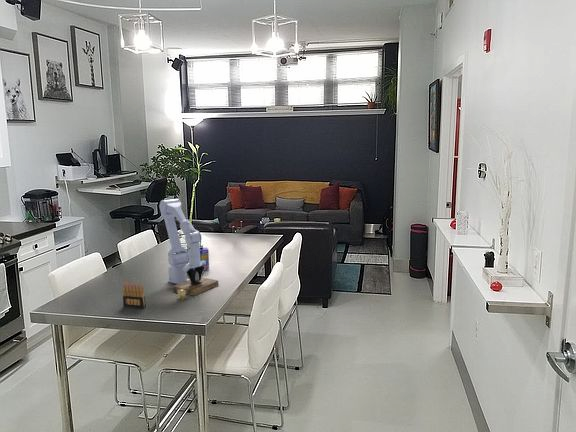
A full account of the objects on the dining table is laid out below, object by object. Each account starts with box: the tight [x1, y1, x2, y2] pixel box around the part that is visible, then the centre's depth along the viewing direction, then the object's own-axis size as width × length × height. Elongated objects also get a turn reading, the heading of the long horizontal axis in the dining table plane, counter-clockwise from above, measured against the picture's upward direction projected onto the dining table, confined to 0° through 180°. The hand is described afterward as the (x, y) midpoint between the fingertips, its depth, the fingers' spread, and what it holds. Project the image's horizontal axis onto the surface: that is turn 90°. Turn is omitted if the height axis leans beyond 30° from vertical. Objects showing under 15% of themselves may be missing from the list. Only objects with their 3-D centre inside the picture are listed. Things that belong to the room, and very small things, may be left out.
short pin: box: [177, 289, 187, 301], centre depth 220 cm, size 4×4×4 cm
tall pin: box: [192, 270, 199, 285], centre depth 235 cm, size 4×4×8 cm
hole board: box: [172, 276, 219, 296], centre depth 236 cm, size 14×18×2 cm
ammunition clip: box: [122, 280, 147, 309], centre depth 211 cm, size 11×2×12 cm, turn 74°
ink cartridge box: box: [193, 245, 210, 271], centre depth 267 cm, size 10×6×14 cm, turn 111°
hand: (195, 281), depth 235 cm, fingers closed on tall pin, 4 cm apart
